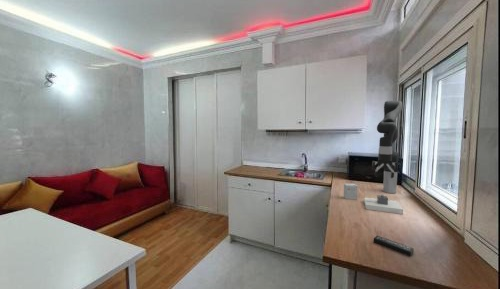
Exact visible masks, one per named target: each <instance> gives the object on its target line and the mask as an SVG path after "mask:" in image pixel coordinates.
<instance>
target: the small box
mask: <svg viewBox="0 0 500 289" xmlns="http://www.w3.org/2000/svg"><path fill="white" fill-rule="evenodd" d="M343 198H345V200H358V185H357V184H356V183H343Z"/></svg>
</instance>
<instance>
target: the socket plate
mask: <svg viewBox="0 0 500 289" xmlns="http://www.w3.org/2000/svg"><path fill="white" fill-rule="evenodd" d="M363 203H364V206H365V209H366V210H369V211H378V212H383V213H392V214H398V215H399V214H400V215H403V214H404V209H403V207H402V206H401V204H400V203H399V201H398V200H391V199H390V200H389V199H388V205H385V204H378V203H377V198H372V197H364V198H363Z"/></svg>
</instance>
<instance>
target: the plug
mask: <svg viewBox="0 0 500 289" xmlns="http://www.w3.org/2000/svg"><path fill="white" fill-rule="evenodd" d="M376 196H377V197H376V199H377V203H378V204H385V205H388V200H389V198H388V196H387V195H384V194H381V195H379V194H378V195H376Z"/></svg>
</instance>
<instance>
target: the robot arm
mask: <svg viewBox="0 0 500 289" xmlns="http://www.w3.org/2000/svg"><path fill="white" fill-rule="evenodd" d="M402 109H403V103H402V101H400V100H389V101H388V100H387V101H385V102H384V105H383V113H384V114H383V119H382V120H380V121H379V123H378V124H377V126H376V131H377V132H378V133H380V134H383V136H381V137H379V146H378V156H377V158H378V159H377V161H375V160H372V164H371V170H372V171H374V176H375V177H376V178H378V173H379V170H380V169H383V180H382V181H383V184H382V186H383V187H382V192H383V193H386V194H387V193H388V194H397V188H398V187H397V186H398V185H397V184H398V171H399V169H398V165H399V159H400V158H399V155H400V154H399V152H398V151H393V144H394V143H395V141H396V140H397V139H398V135H399V129H398V127H397V124H396V119H397V118H398V116H399V115H400V114H401V112H402ZM376 165H377V167H376V168H375V166H376Z"/></svg>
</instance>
